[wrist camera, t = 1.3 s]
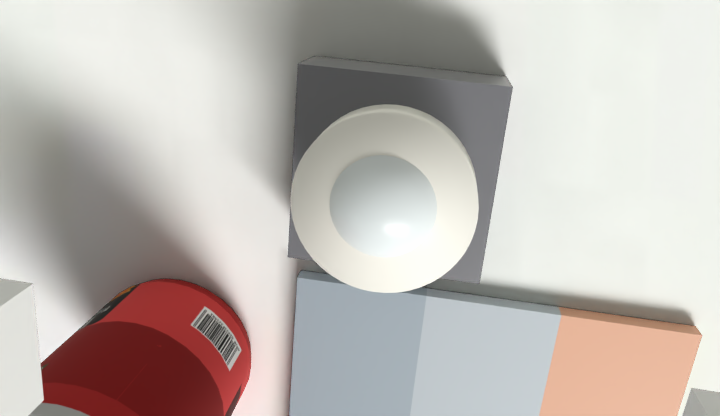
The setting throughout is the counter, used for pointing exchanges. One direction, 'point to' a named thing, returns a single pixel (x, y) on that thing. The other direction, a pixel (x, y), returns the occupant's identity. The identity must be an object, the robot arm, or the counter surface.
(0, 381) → the robot arm
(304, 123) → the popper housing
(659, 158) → the counter surface
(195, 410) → the canned food
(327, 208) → the dome button
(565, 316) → the flat rectangular panel
